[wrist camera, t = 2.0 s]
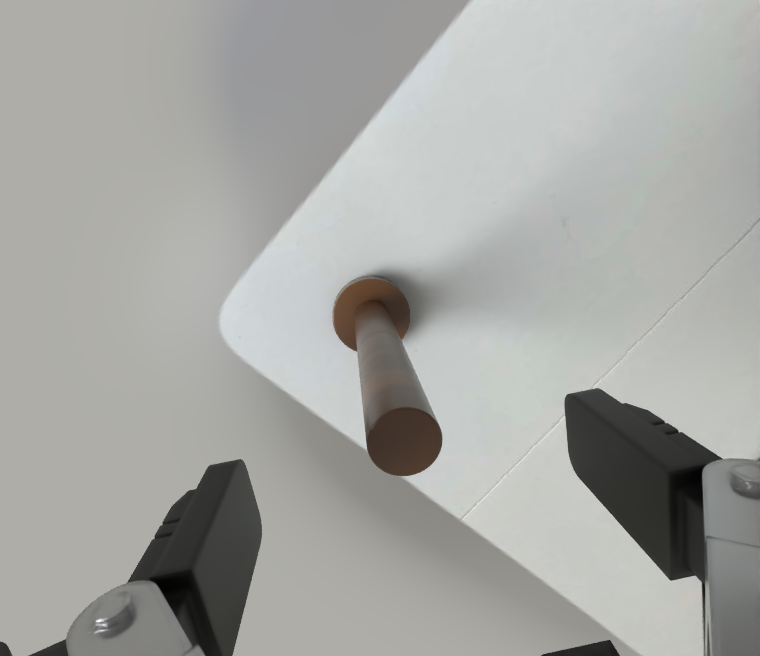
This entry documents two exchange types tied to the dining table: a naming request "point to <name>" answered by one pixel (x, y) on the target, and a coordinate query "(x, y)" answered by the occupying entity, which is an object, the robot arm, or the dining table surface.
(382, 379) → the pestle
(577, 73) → the dining table surface
